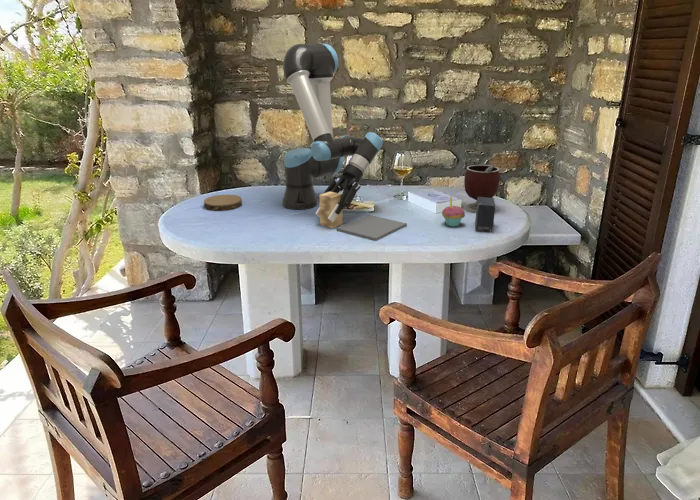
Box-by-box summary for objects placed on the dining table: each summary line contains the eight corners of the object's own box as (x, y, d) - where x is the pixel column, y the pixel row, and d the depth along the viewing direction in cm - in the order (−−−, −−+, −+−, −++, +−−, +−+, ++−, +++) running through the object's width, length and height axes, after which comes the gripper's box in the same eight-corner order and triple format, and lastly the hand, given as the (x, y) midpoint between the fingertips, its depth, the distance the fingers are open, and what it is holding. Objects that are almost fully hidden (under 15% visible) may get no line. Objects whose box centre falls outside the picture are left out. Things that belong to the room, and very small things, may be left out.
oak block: (320, 225, 199) (319, 194, 194) (330, 221, 203) (329, 191, 198) (332, 228, 195) (331, 197, 191) (342, 224, 199) (341, 194, 195)
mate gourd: (456, 205, 220) (460, 158, 213) (486, 202, 223) (490, 156, 216) (473, 216, 206) (477, 167, 199) (504, 213, 209) (510, 164, 202)
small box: (493, 232, 189) (496, 205, 185) (475, 231, 190) (477, 204, 186) (492, 223, 198) (494, 197, 194) (474, 222, 199) (476, 196, 196)
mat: (336, 230, 193) (336, 228, 192) (368, 217, 207) (368, 214, 207) (375, 240, 182) (375, 238, 182) (406, 225, 196) (406, 223, 196)
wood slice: (202, 212, 216) (201, 205, 214) (206, 202, 230) (205, 195, 229) (241, 210, 218) (240, 203, 217) (242, 200, 232) (242, 193, 231)
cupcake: (451, 229, 192) (453, 198, 188) (436, 223, 199) (438, 193, 194) (468, 225, 196) (471, 194, 192) (453, 219, 203) (455, 189, 199)
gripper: (378, 178, 195) (346, 229, 191) (344, 170, 209) (313, 217, 205) (368, 167, 190) (335, 218, 186) (333, 159, 204) (302, 207, 200)
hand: (324, 217), depth 195 cm, fingers closed on oak block, 7 cm apart
